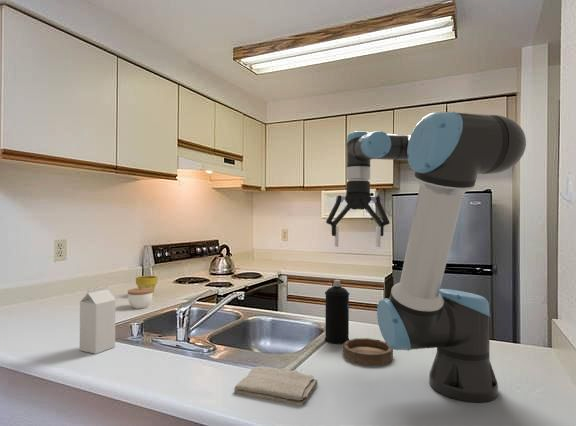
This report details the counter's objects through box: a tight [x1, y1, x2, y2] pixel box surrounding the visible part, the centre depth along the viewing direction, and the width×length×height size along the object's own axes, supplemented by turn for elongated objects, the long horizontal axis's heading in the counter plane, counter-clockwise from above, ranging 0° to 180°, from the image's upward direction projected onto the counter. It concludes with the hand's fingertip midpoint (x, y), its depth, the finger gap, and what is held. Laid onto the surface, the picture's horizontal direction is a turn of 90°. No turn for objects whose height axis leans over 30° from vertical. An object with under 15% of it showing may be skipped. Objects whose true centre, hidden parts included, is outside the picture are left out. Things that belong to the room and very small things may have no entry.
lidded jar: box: [127, 286, 154, 310], centre depth 172 cm, size 11×11×9 cm
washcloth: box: [233, 366, 318, 406], centre depth 92 cm, size 12×18×3 cm, turn 71°
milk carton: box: [79, 285, 116, 355], centre depth 118 cm, size 7×7×19 cm
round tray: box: [342, 337, 394, 367], centre depth 113 cm, size 14×14×3 cm
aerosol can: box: [324, 279, 350, 345], centre depth 127 cm, size 8×8×20 cm
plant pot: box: [135, 275, 158, 295], centre depth 195 cm, size 10×10×10 cm
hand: (357, 246), depth 123 cm, fingers open, 13 cm apart
